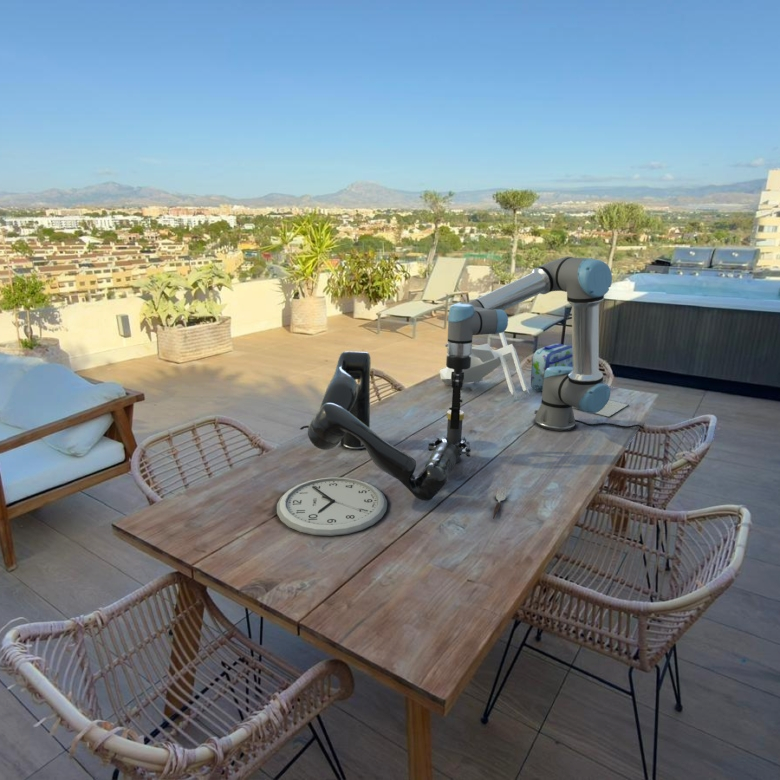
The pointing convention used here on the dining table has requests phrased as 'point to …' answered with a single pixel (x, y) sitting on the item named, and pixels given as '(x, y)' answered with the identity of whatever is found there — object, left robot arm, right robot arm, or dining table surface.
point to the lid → (459, 417)
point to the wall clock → (331, 506)
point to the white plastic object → (489, 365)
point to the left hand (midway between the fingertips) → (455, 438)
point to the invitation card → (611, 408)
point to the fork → (499, 498)
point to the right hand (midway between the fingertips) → (454, 424)
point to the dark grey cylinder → (454, 434)
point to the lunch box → (549, 362)
